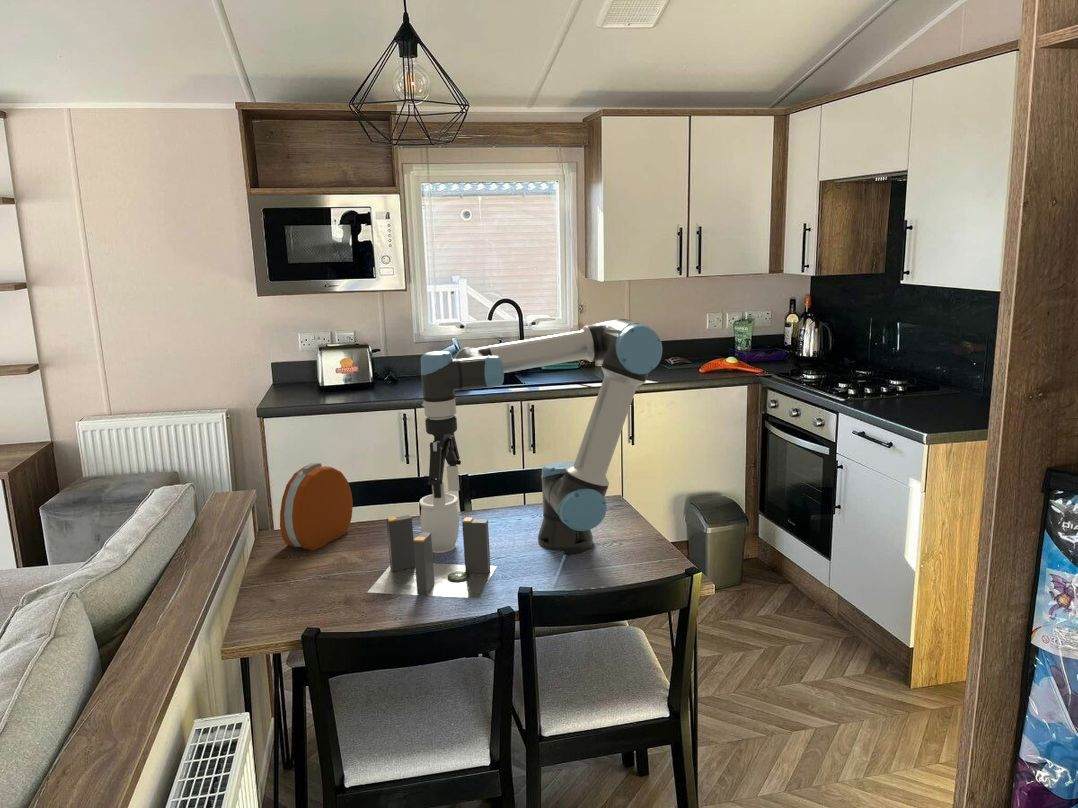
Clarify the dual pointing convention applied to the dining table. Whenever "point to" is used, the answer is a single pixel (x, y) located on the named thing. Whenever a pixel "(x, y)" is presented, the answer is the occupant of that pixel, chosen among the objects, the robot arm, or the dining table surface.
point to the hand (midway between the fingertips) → (447, 499)
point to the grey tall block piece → (476, 545)
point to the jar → (441, 522)
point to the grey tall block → (400, 542)
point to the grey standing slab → (424, 563)
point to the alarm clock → (315, 507)
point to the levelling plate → (446, 578)
